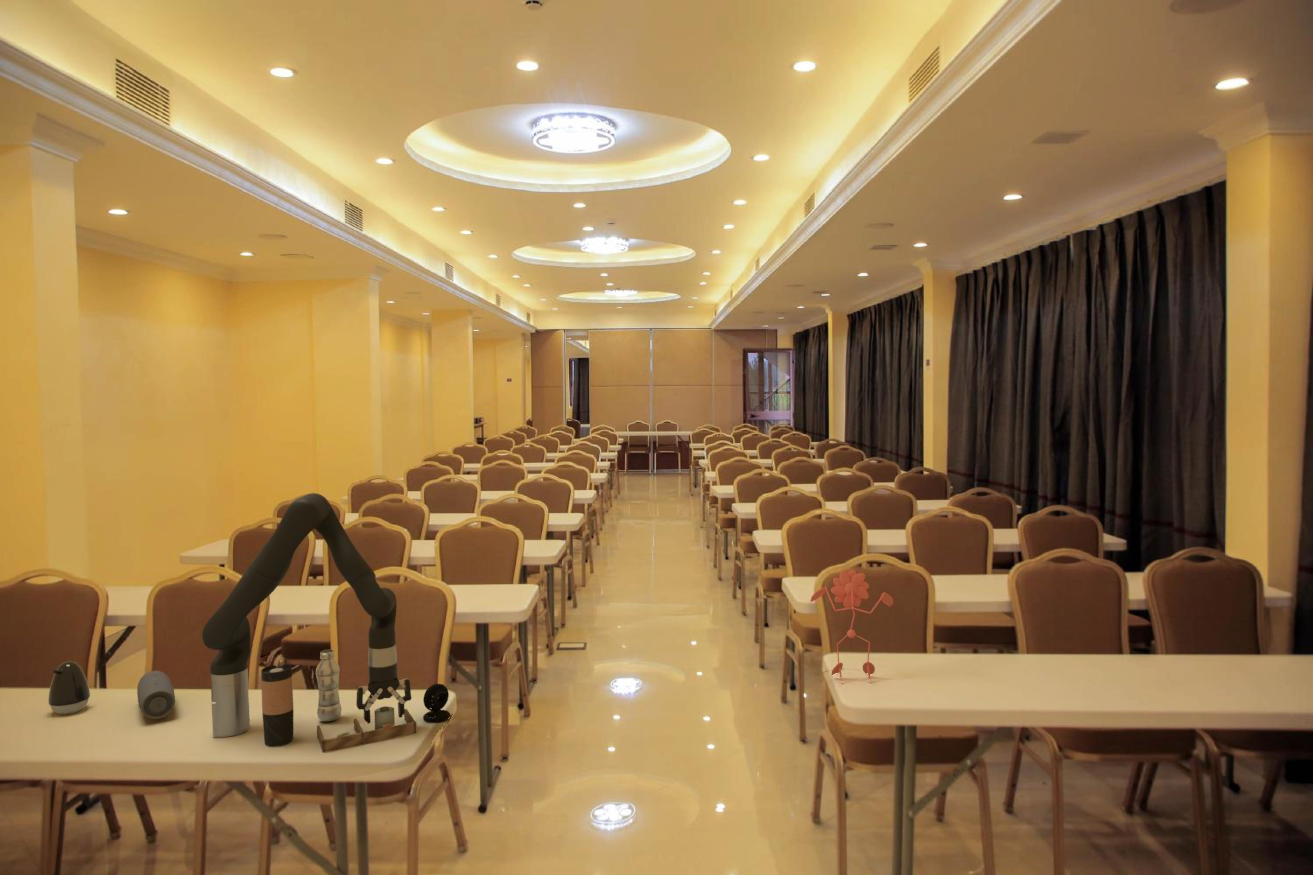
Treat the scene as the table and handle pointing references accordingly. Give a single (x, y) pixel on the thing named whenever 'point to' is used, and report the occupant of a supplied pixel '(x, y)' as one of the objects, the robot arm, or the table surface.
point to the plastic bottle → (328, 687)
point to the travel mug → (277, 705)
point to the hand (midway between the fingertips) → (384, 719)
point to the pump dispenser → (68, 689)
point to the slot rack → (367, 734)
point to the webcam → (436, 703)
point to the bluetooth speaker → (155, 695)
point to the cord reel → (384, 716)
